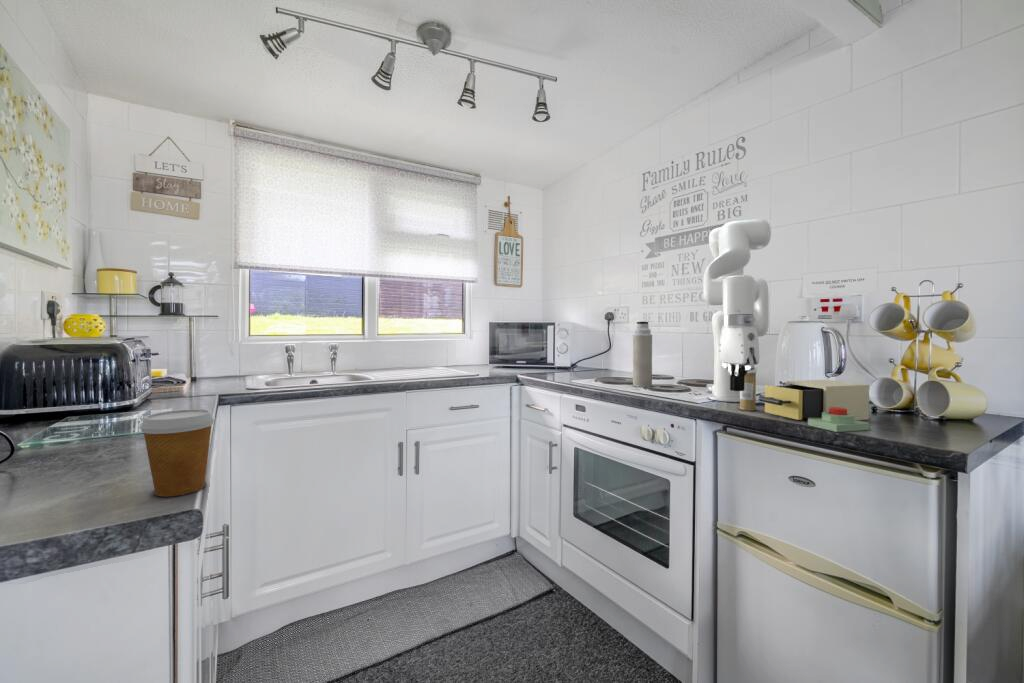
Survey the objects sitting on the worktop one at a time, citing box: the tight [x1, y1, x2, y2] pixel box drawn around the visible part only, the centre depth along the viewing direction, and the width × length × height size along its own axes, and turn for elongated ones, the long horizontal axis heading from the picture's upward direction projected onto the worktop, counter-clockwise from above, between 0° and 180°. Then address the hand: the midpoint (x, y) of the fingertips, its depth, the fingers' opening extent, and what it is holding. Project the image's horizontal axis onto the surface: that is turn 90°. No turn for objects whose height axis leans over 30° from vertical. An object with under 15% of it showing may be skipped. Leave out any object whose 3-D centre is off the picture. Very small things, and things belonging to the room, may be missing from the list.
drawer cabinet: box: [786, 379, 870, 421], centre depth 126 cm, size 15×13×10 cm
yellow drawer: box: [757, 384, 824, 421], centre depth 124 cm, size 18×11×8 cm, turn 103°
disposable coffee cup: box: [139, 408, 216, 498], centre depth 70 cm, size 10×10×12 cm
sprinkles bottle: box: [739, 366, 758, 412], centre depth 136 cm, size 5×5×13 cm
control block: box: [807, 411, 870, 433], centre depth 112 cm, size 8×10×4 cm
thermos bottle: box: [632, 321, 653, 388], centre depth 193 cm, size 8×8×28 cm
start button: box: [829, 407, 847, 415], centre depth 112 cm, size 4×4×2 cm
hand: (737, 390), depth 119 cm, fingers closed
